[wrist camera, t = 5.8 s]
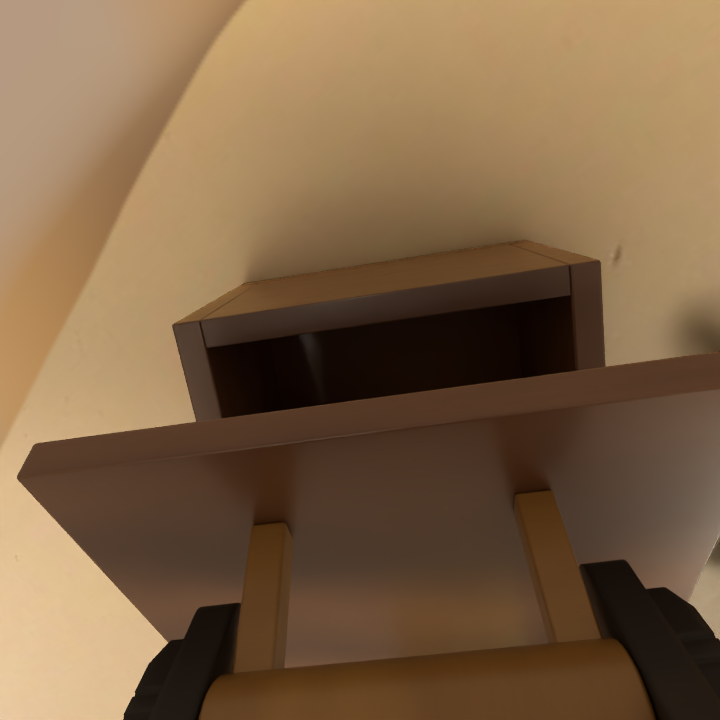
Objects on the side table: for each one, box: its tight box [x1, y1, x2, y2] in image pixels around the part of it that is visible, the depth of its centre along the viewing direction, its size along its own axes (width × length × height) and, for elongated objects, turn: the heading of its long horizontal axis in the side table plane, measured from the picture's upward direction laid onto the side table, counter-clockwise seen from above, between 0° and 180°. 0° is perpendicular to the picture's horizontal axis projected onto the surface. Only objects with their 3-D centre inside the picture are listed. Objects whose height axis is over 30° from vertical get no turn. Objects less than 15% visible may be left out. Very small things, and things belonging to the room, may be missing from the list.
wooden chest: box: [172, 240, 605, 422], centre depth 23 cm, size 16×13×9 cm
